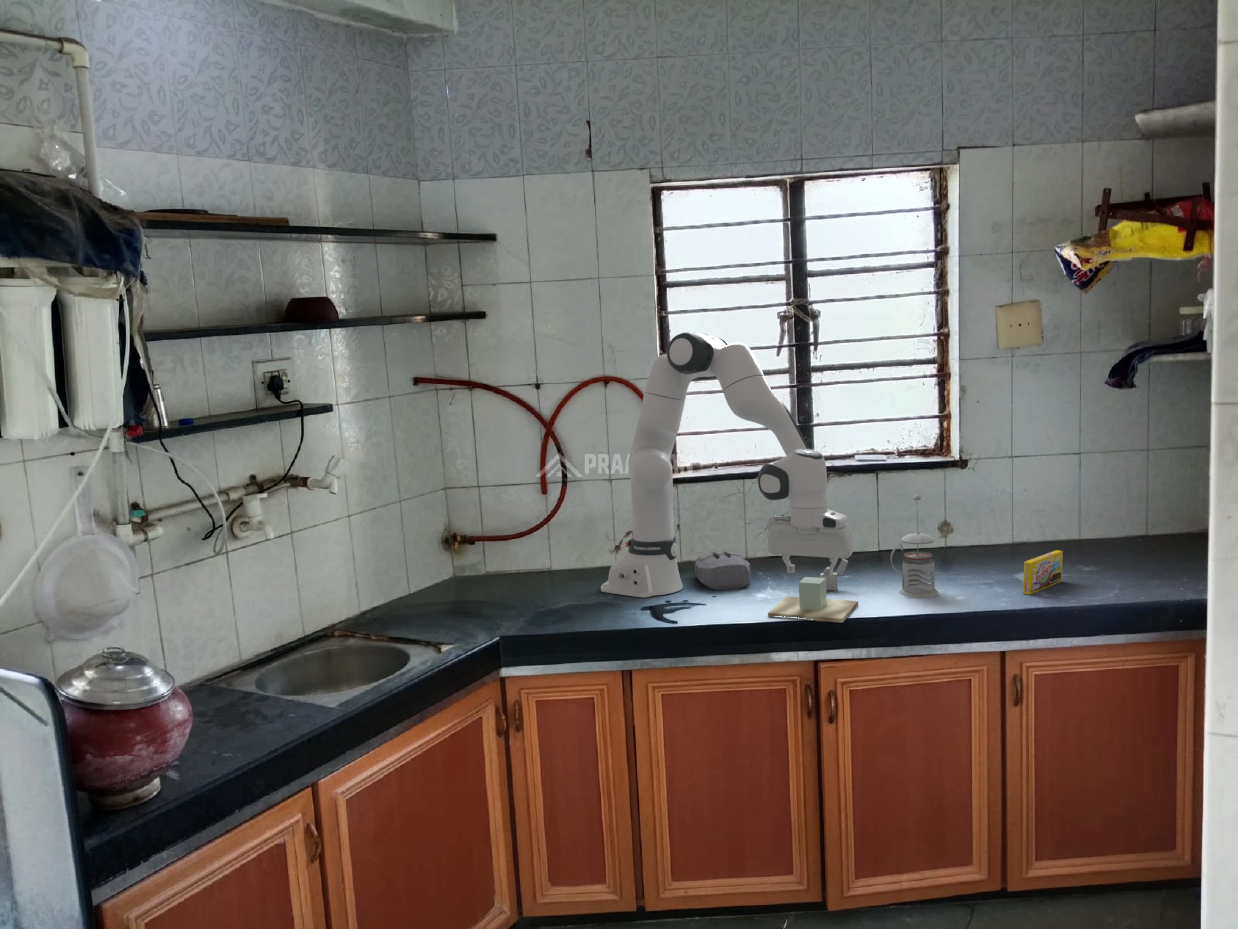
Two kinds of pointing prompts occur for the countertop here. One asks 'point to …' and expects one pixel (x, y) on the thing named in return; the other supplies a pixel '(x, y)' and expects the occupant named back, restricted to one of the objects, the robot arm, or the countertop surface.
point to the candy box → (1042, 572)
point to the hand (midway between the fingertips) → (810, 573)
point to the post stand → (829, 613)
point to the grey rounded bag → (723, 570)
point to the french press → (917, 566)
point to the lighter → (834, 576)
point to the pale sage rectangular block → (812, 593)
